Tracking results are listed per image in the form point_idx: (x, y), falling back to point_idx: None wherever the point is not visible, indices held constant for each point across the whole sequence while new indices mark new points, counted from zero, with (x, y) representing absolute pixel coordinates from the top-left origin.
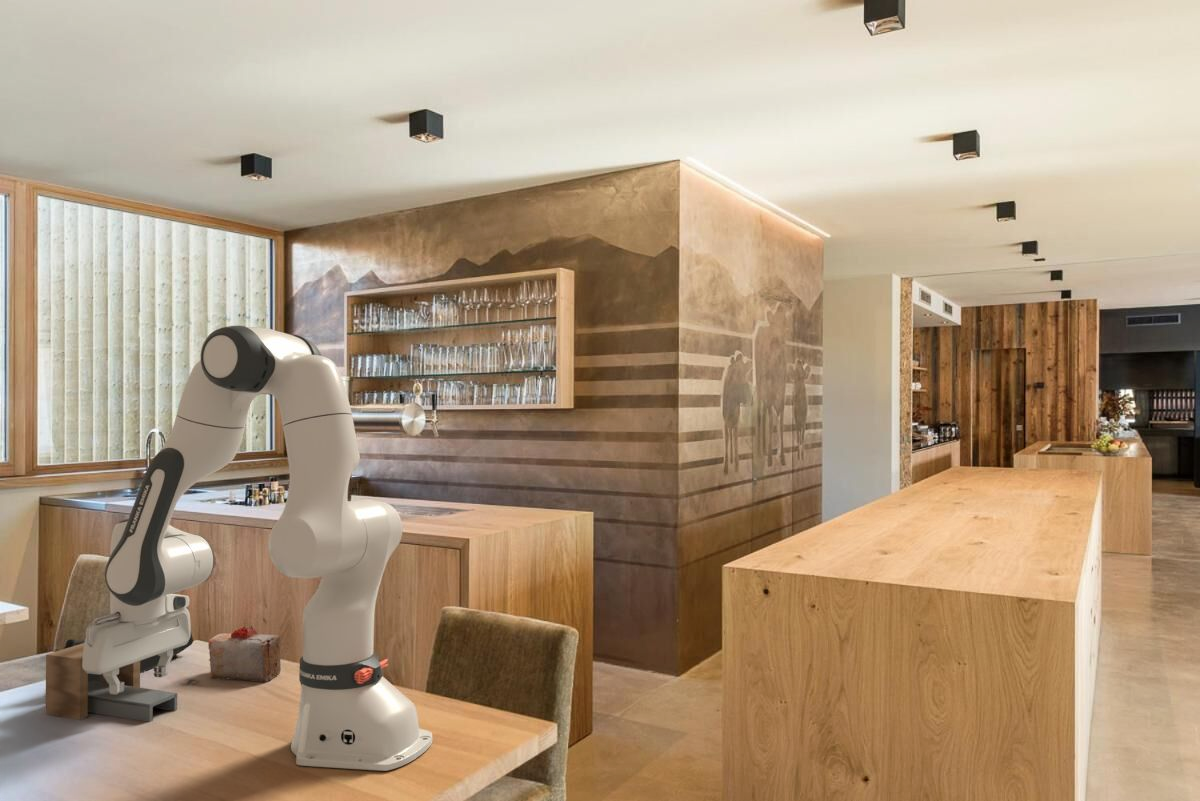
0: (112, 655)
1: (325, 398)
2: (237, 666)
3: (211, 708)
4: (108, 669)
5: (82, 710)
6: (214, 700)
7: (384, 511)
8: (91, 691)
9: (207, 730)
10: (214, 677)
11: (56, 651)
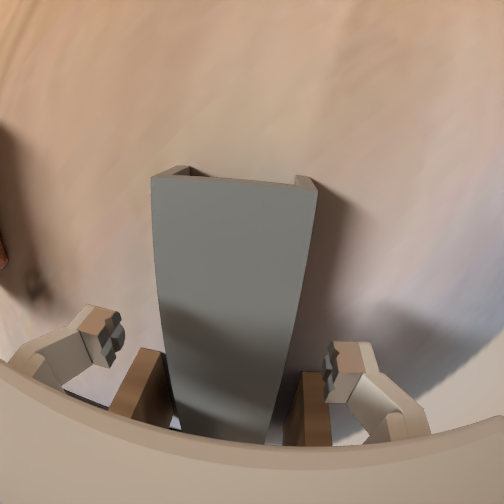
0: (483, 498)
1: None
2: None
3: (135, 63)
4: (485, 429)
5: (319, 388)
6: (78, 117)
7: None
8: (244, 426)
9: None
10: (3, 250)
11: None
